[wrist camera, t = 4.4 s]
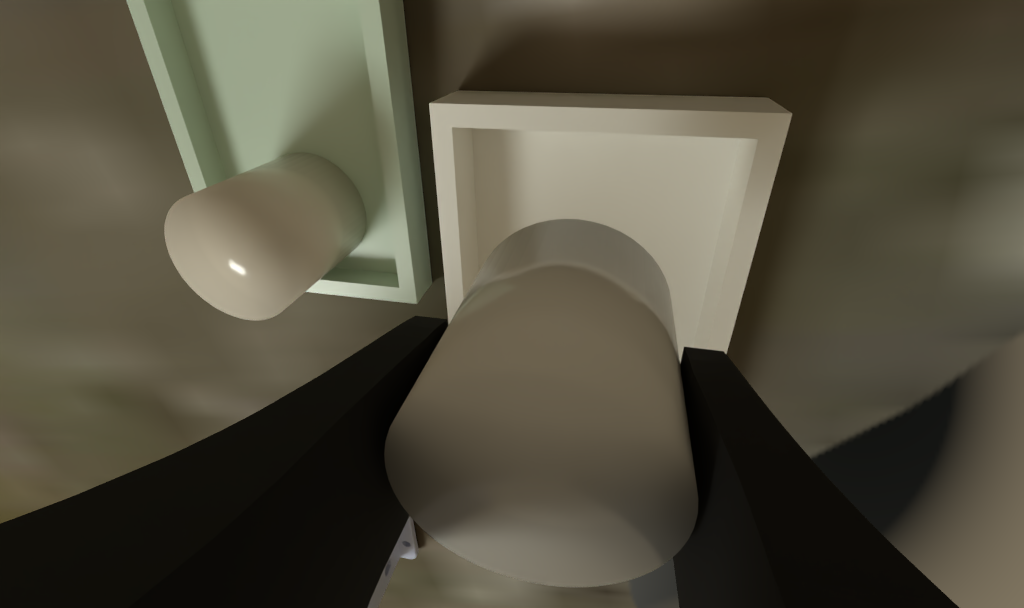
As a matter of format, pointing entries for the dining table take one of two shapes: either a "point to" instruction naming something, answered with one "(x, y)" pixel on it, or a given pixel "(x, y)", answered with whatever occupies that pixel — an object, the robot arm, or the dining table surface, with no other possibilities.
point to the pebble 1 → (265, 234)
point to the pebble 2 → (553, 415)
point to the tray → (301, 112)
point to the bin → (613, 185)
